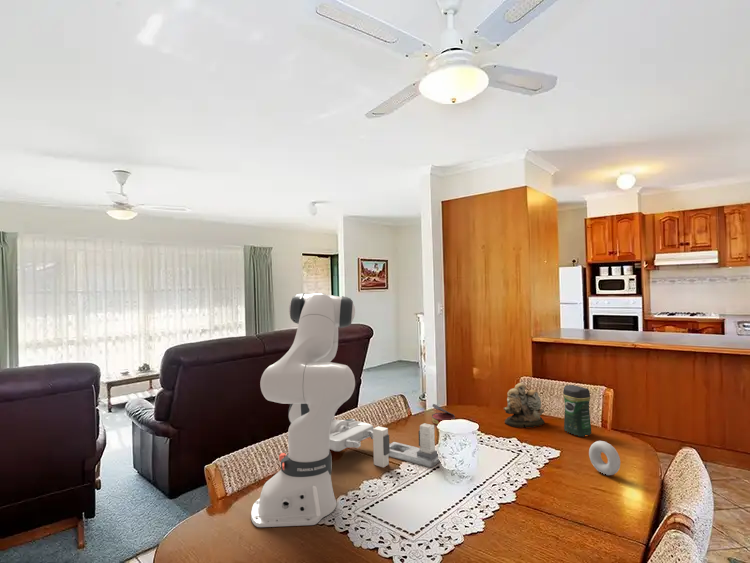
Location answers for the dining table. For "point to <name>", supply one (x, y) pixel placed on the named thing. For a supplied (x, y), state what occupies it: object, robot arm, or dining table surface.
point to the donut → (611, 455)
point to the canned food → (441, 415)
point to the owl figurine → (523, 407)
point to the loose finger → (381, 446)
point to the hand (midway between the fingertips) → (368, 440)
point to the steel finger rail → (418, 455)
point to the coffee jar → (577, 410)
